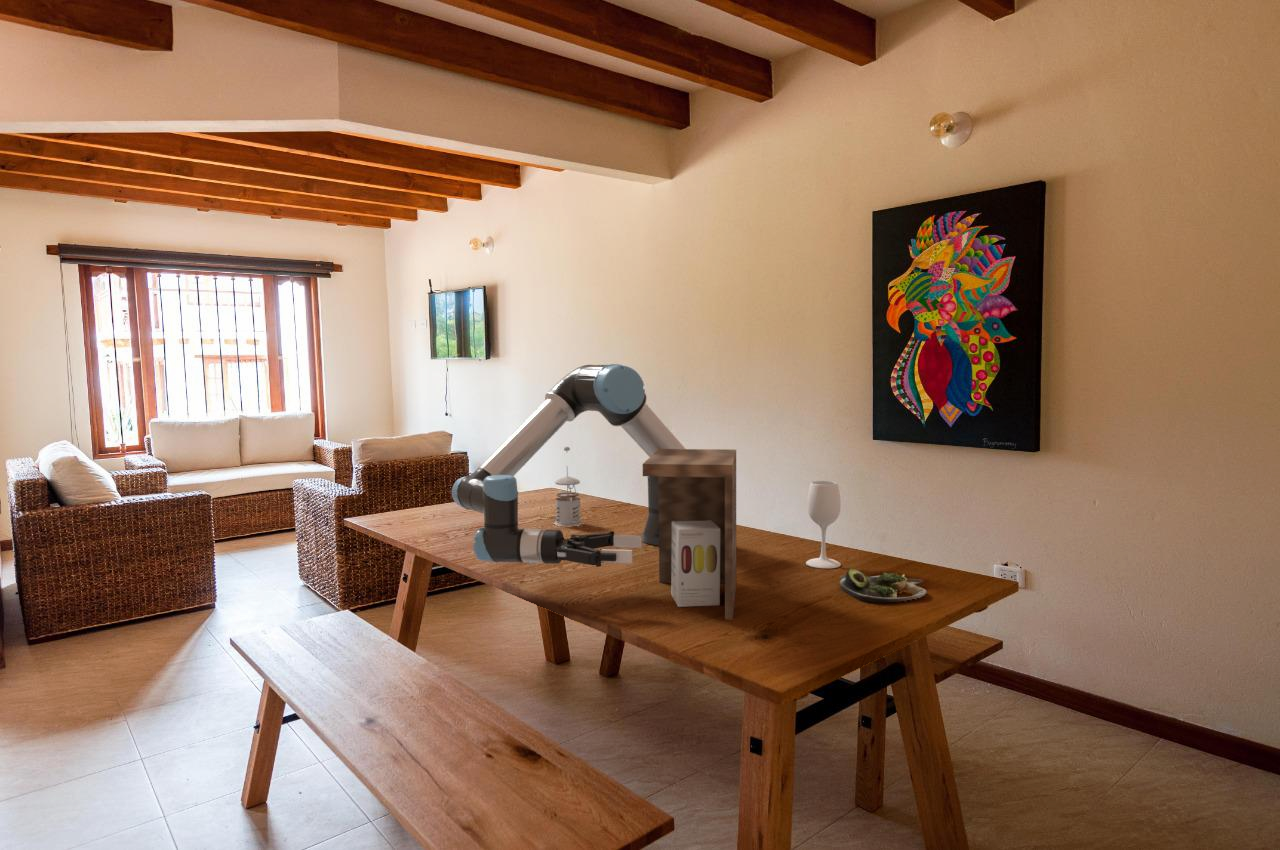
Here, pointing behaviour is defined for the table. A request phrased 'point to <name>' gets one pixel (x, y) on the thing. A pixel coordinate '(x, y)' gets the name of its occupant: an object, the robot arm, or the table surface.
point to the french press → (567, 503)
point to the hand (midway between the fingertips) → (637, 548)
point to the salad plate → (879, 587)
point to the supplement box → (695, 563)
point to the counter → (697, 504)
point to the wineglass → (823, 516)
